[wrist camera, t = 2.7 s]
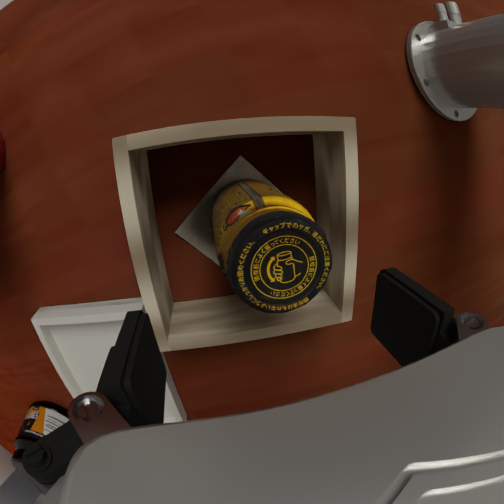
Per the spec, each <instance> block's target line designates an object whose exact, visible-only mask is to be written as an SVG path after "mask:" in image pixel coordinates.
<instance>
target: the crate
mask: <svg viewBox="0 0 504 504" xmlns="http://www.w3.org/2000/svg"><path fill="white" fill-rule="evenodd" d="M301 134H312V135H313V150H314V167H315V188H316V219H317V224H318V226H319V227H320V228H322V229H323V231H324V233H325V234H326V238H327V240H328V242H329V245H330V249H331V254H332V268H331V270H330V272H329V275H328V278H327V281H326V284H325V285H324V286H323V288H322V289H321V290H320V291H319V293H318V294H317V295H316V296H315V297H314V298H313V299H312V300H311V301H309V302H308V303H307V304H306V305H304V306H301V307H299V308H297V309H294V310H291V311H289V312H286V313H265V312H262V311H258V310H256V309H254V308H252V307H250V306H249V305H247V304H246V303H244V302H243V301H242V300H241V299H240V297H238V296H237V295H229V296H222V297H214V298H207V299H200V300H192V301H184V302H176V303H174V302H173V298H172V294H171V290H170V285H169V281H168V276H167V271H166V267H165V262H164V257H163V252H162V247H161V242H160V236H159V231H158V225H157V219H156V213H155V207H154V201H153V194H152V188H151V181H150V173H149V165H148V157H147V150H153V149H159V148H164V147H171V146H177V145H184V144H191V143H198V142H206V141H215V140H224V139H234V138H245V137H259V136H275V135H301ZM112 146H113V155H114V163H115V170H116V178H117V184H118V191H119V197H120V203H121V208H122V214H123V219H124V224H125V229H126V234H127V239H128V244H129V248H130V253H131V257H132V261H133V265H134V269H135V273H136V277H137V281H138V285H139V289H140V292H141V296H142V300H143V303H144V307H145V310H146V313H148V315H149V317H150V321H151V324H152V327H153V331H154V334H155V337H156V340H157V343H158V346H159V349H160V352H164V351H174V350H184V349H193V348H201V347H209V346H217V345H224V344H231V343H238V342H244V341H251V340H257V339H263V338H269V337H274V336H280V335H285V334H290V333H295V332H300V331H305V330H310V329H315V328H319V327H324V326H328V325H333V324H337V323H341V322H346V321H350V320H352V313H353V303H354V292H355V279H356V265H357V246H358V206H359V192H358V153H357V134H356V120H355V117H332V116H280V117H257V118H242V119H230V120H219V121H210V122H202V123H194V124H186V125H180V126H173V127H167V128H161V129H155V130H150V131H145V132H139V133H135V134H130V135H125V136H121V137H116V138H112Z"/></svg>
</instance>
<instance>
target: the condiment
mask: <svg viewBox="0 0 504 504" xmlns="http://www.w3.org/2000/svg"><path fill="white" fill-rule="evenodd" d="M209 213H210V214H209ZM175 233H176V234H177V235H179V236H180V237H181V238H183V239H184V240H186V241H187V242H188V243H190V244H191V245H192V246H194V247H195V248H196V249H198V250H199V251H200V252H202V253H203V254H204V255H206V256H207V257H208V258H210V259H211V260H213V261H214V262H215V263H216V264H217V265H219V266H220V267H221V270H222V271H223V273H224V275H225V276H226V277H227V278H228V281H229V283H230V284H231V286H232V289H233V290H234V292H235V293H236V295H237V296H238V297H240V299H241V300H242V301H243V302H244V303H246V304H247V305H249V306H250V307H252V308H254V309H256V310H258V311H262V312H265V313H286V312H289V311H291V310H294V309H297V308H299V307H301V306H304V305H306V304H307V303H308V302H309V301H311V300H312V299H313V298H314V297H315V296H316V295H317V294H318V293H319V291H320V290H321V289H322V288H323V286H324V285H325V284H326V281H327V278H328V275H329V272H330V270H331V268H332V254H331V249H330V245H329V242H328V240H327V238H326V234H325V233H324V231H323V229H322V228H320V227H319V226H318V224H317V223H316V222H315V221H314V219H313V218H312V217H311V215H310V214H309V212H308V211H307V210H306V209H305V208H304V207H303V206H302V205H301V204H300V203H298V202H297V201H295V200H293V199H292V198H290V197H288V196H286V195H284V194H283V193H282V192H281V191H280V190H278V189H277V188H276V187H275V186H274V185H273V184H272V183H271V182H270V181H269V180H268V179H267V178H265V177H264V176H263V175H262V174H261V173H260V172H259V171H258V170H257V169H256V168H254V167H253V166H252V165H251V164H250V163H249V162H248V161H247V160H245V159H244V158H243V157H242V156H241V155H240V156H239V158H238V159H237V160H236V161H235V162H234V163H233V164H232V165H231V166H230V168H229V169H228V170H227V171H226V172H225V173H224V174H223V176H222V177H221V178H220V179H219V180H218V181H217V182H216V183H215V184H214V186H213V187H212V188H211V189H210V190H209V192H208V193H207V194H206V195H205V196H204V197H203V199H202V200H201V201H200V202H199V204H198V205H197V206H196V207H195V208H194V209H193V211H192V212H191V213H190V214H189V215H188V217H187V218H186V219H185V220H184V222H183V223H182V224H181V225H180V227H179V228H178V229H177V230H176V232H175Z"/></svg>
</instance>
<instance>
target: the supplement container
mask: <svg viewBox="0 0 504 504" xmlns="http://www.w3.org/2000/svg"><path fill="white" fill-rule="evenodd" d="M69 420H70V419H69V417H68V410H66V409H65V408H63V407H61V406H59V405H57V404H54V403H51V402H47V401H36V402H34V403H32V404H31V405H30V407H29V409H28V412H27V415H26V417H25V419H24V421H23V424H22V426H21V429H20V431H19V433H18V436H17V437H16V438H15V441H14V445H15V448H16V451H14V454H13V457H12V459H11V462H12V465H13V466H14V467H15V469H16V468H18V469H19V470H21V469H22V468H23V464H22V456H23V453H24V451H25V450H26V448H27V447H28V446H30V445H31V444H32V443H34V442H36V441H37V440H39V439H41V438H42V437H44V436H45V435H47V434H49V433H50V432H52V431H53V430H55V429H57V428H58V427H60V426H61V425H63V424H65V423H66V422H68V421H69Z"/></svg>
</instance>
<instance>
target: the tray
mask: <svg viewBox="0 0 504 504" xmlns="http://www.w3.org/2000/svg"><path fill="white" fill-rule="evenodd" d="M135 310H142V311H143V312H144V313H146V310H145V307H144V303H143V300H142V297H139V298H130V299H121V300H112V301H102V302H92V303H82V304H72V305H61V306H49V307H40V309H39V310H38V311H37V312H36V313H35V315H34V316H33V317H32V318H31V321H32V323H33V325H34V327H35V330H36V332H37V334H38V336H39V338H40V340H41V342H42V344H43V346H44V348H45V350H46V352H47V354H48V356H49V358H50V360H51V361H52V363H53V365H54V367H55V369H56V370H57V372H58V374H59V376H60V377H61V379H62V381H63V382H64V384H65V386H66V387H67V389H68V390H69V392H70V393H71V395H72V397H73V398H75V397H77V396H78V395H80V394H83V393H85V392H91V391H92V392H96V389H97V386H98V383H99V379H100V376H101V373H102V370H103V367H104V365H105V362H106V359H107V356H108V353H109V350H110V348H111V347H112V346H115V343H116V340H117V338H118V335H119V332H120V329H121V327H122V324H123V321H124V319H125V316H126V313H127V312H128V311H135ZM161 355H162V358H163V361H164V364H165V367H166V373H167V377H166V391H165V407H164V423H171V422H180V421H187V414H186V412H185V410H184V407H183V405H182V402H181V400H180V397H179V395H178V392H177V389H176V387H175V384H174V382H173V379H172V376H171V373H170V371H169V368H168V365H167V362H166V359H165V356H164V353H163V352H161Z"/></svg>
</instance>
